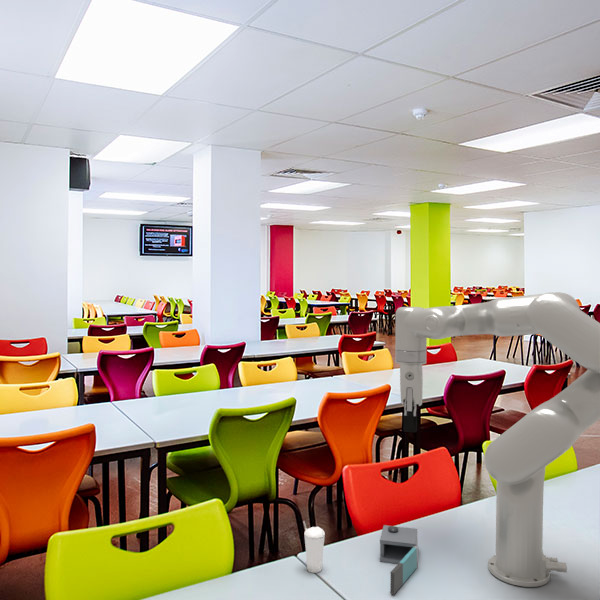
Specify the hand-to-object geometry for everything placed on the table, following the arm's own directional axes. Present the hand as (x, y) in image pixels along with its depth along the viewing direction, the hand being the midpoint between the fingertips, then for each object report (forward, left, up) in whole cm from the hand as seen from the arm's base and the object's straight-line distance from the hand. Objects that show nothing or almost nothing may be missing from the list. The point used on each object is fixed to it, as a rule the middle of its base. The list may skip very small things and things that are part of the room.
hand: (410, 431), depth 135 cm
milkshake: (+20, +20, -27) cm, 39 cm away
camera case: (+2, +9, -27) cm, 29 cm away
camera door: (0, +19, -27) cm, 33 cm away
